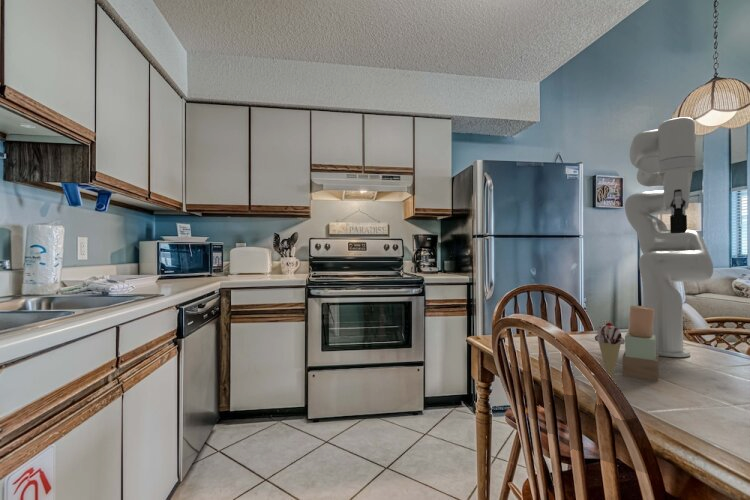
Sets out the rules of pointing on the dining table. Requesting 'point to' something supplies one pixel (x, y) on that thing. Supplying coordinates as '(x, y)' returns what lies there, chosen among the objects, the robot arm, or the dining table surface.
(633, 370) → the base block
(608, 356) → the ice cream cone
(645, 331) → the tan rounded capsule
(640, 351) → the pale green block
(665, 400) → the dining table surface
